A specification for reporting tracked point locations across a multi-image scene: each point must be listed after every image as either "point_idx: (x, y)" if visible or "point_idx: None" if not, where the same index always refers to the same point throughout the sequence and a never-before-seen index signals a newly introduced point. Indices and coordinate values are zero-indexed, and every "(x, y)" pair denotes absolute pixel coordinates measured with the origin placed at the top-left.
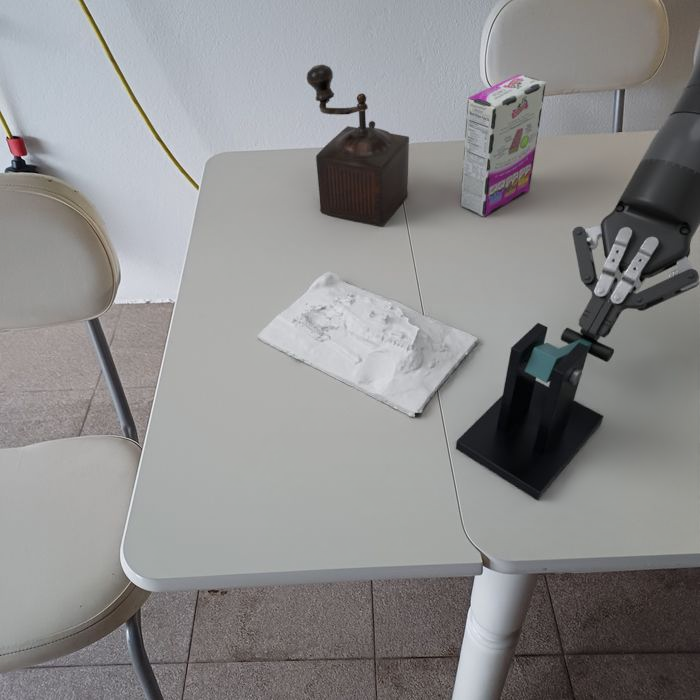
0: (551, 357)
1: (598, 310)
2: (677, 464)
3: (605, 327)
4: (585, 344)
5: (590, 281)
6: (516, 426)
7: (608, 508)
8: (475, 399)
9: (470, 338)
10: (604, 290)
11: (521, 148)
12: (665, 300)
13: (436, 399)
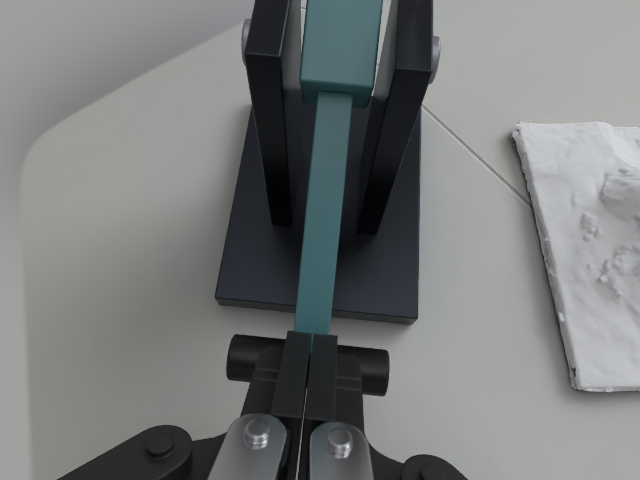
0: None
1: (311, 385)
2: (57, 289)
3: (265, 363)
4: (302, 309)
5: (405, 467)
6: (352, 177)
7: (155, 141)
8: (459, 226)
9: (593, 371)
10: (324, 447)
11: None
12: None
13: (516, 186)
